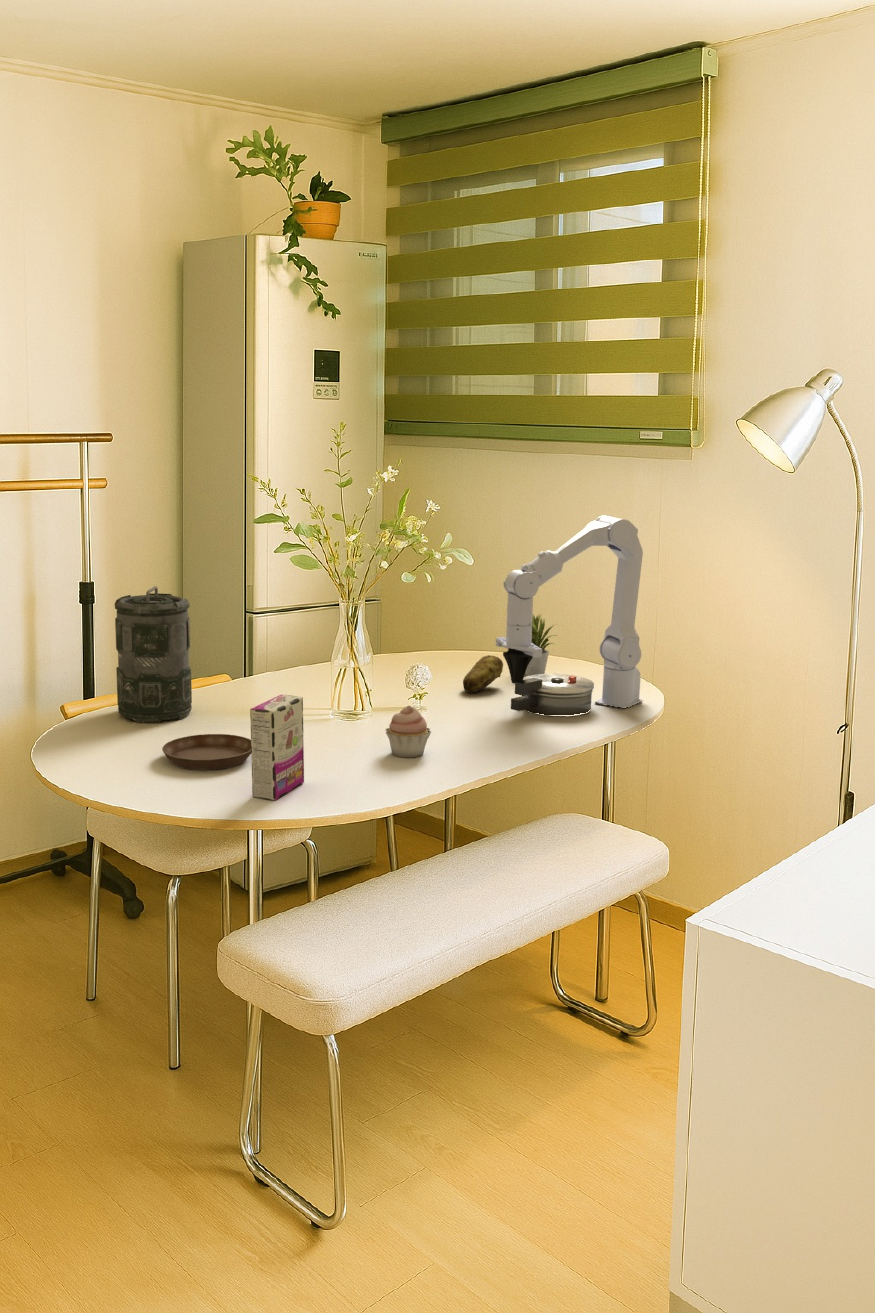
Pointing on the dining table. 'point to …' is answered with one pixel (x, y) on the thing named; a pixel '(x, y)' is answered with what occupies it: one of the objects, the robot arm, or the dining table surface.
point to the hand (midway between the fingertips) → (517, 682)
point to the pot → (553, 703)
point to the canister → (153, 657)
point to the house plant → (539, 663)
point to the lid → (553, 684)
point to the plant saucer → (208, 751)
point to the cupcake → (408, 733)
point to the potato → (483, 673)
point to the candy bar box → (277, 747)
